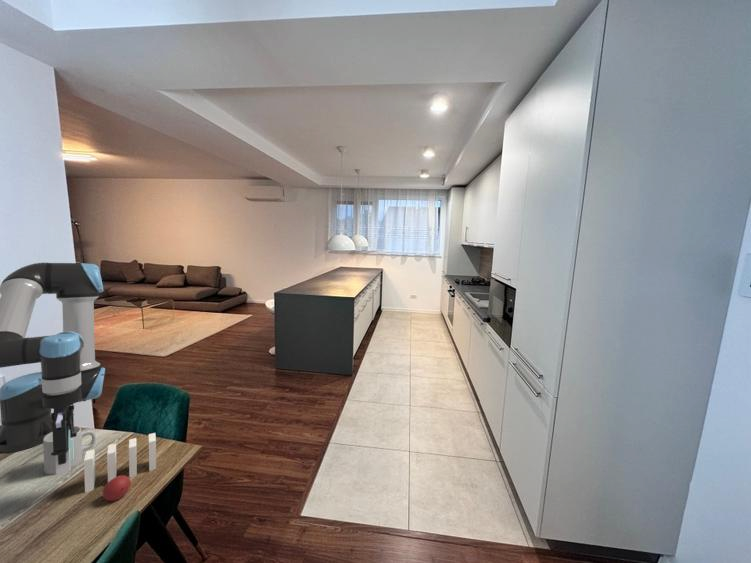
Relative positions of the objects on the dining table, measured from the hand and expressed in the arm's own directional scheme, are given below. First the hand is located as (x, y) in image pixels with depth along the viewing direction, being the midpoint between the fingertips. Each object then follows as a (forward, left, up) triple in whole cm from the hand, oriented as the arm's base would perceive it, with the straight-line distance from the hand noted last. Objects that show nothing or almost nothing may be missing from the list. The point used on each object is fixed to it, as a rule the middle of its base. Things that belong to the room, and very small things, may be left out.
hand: (65, 466), depth 84 cm
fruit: (+10, +12, -9) cm, 18 cm away
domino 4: (0, +15, -9) cm, 17 cm away
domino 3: (0, +10, -9) cm, 13 cm away
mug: (-16, -1, -9) cm, 18 cm away
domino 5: (0, +20, -9) cm, 22 cm away
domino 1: (0, 0, 0) cm, 0 cm away
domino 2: (0, +5, -9) cm, 10 cm away
